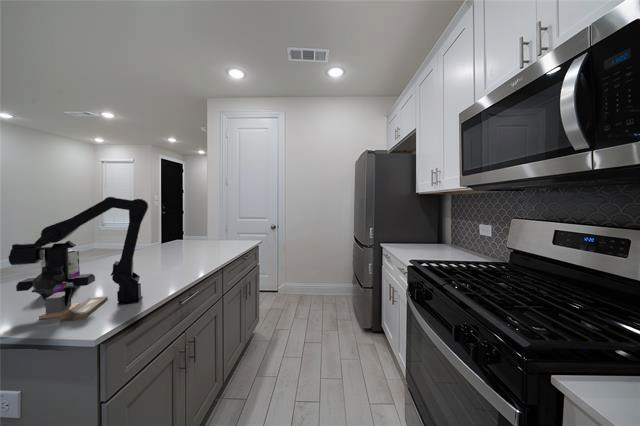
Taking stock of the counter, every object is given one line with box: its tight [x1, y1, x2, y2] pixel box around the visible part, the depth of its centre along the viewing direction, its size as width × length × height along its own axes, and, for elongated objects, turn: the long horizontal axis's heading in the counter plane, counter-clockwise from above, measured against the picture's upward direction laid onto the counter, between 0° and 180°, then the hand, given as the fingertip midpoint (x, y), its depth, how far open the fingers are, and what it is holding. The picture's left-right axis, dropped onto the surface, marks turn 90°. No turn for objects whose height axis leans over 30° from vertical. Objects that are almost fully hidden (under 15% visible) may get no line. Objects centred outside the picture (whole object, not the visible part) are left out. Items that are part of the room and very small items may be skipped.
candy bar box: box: [40, 249, 81, 294], centre depth 112 cm, size 11×5×16 cm, turn 168°
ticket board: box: [59, 296, 108, 323], centre depth 93 cm, size 6×18×1 cm, turn 19°
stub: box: [38, 291, 82, 320], centre depth 90 cm, size 7×9×6 cm
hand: (58, 306), depth 90 cm, fingers closed on stub, 4 cm apart
